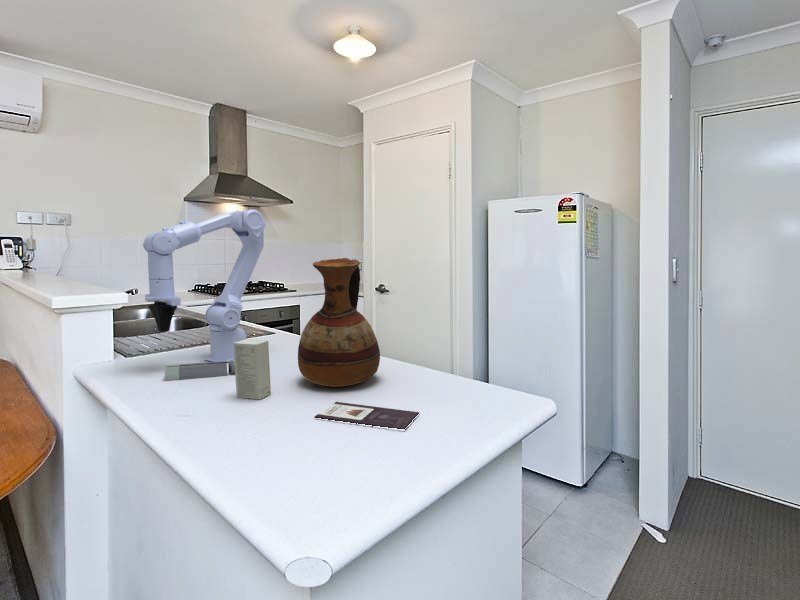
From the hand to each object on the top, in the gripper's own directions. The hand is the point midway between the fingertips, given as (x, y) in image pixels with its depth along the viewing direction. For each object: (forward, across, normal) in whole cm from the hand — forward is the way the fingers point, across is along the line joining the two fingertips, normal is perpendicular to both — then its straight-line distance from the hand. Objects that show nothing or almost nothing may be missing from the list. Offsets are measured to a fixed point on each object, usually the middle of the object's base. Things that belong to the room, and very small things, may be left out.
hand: (164, 331), depth 121 cm
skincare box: (+11, +36, +1) cm, 38 cm away
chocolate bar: (+11, +64, +7) cm, 65 cm away
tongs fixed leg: (+10, +13, +4) cm, 17 cm away
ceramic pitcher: (+11, +42, +22) cm, 49 cm away
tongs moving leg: (+10, +13, +1) cm, 17 cm away
